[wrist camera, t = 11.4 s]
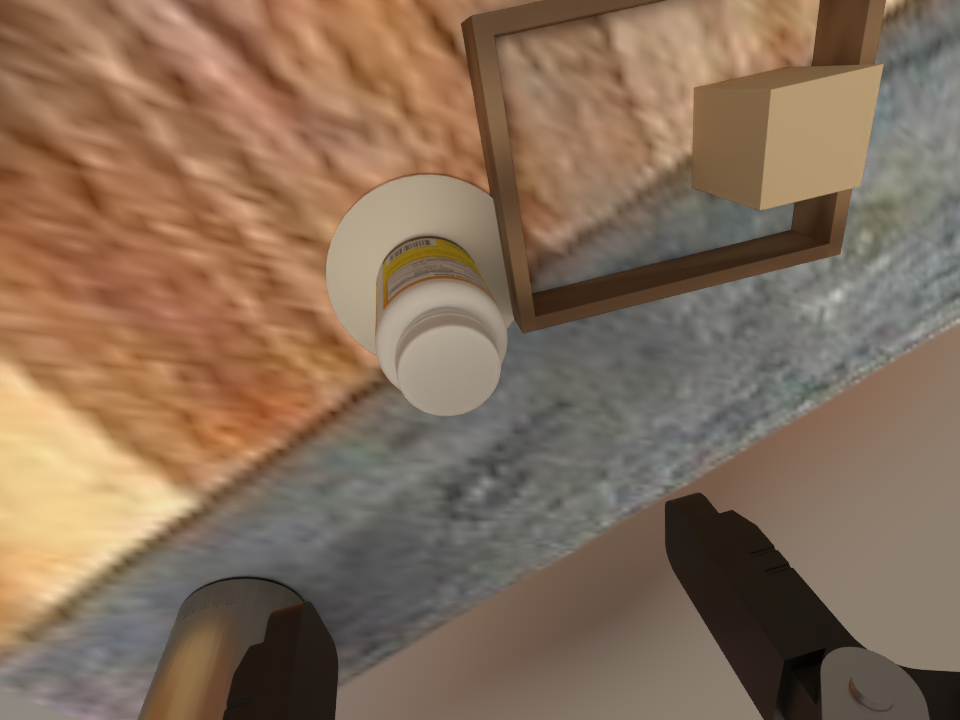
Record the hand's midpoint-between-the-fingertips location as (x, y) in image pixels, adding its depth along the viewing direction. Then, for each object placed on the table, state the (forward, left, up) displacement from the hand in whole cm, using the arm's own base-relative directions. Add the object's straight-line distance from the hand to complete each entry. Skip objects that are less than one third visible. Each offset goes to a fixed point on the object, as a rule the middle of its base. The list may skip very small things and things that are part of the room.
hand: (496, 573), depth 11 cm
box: (+4, -18, -20) cm, 27 cm away
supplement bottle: (0, 0, -19) cm, 19 cm away
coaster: (0, 0, -20) cm, 20 cm away
